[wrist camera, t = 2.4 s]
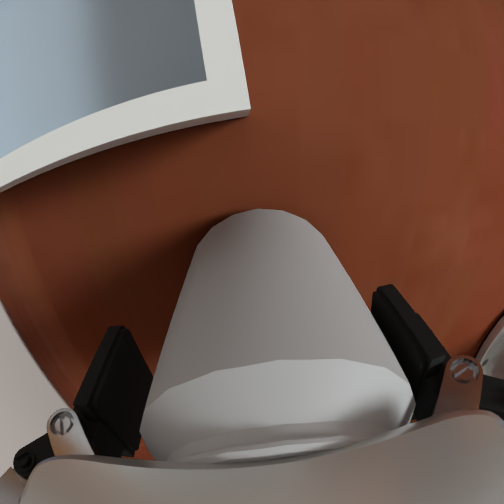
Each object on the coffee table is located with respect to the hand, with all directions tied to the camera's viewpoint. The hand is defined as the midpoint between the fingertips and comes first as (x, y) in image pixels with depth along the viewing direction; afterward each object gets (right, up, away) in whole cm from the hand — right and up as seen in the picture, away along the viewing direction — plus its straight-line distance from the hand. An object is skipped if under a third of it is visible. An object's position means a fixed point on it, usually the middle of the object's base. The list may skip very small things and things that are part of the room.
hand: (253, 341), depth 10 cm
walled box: (-9, +15, -1) cm, 18 cm away
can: (0, +2, +6) cm, 6 cm away
